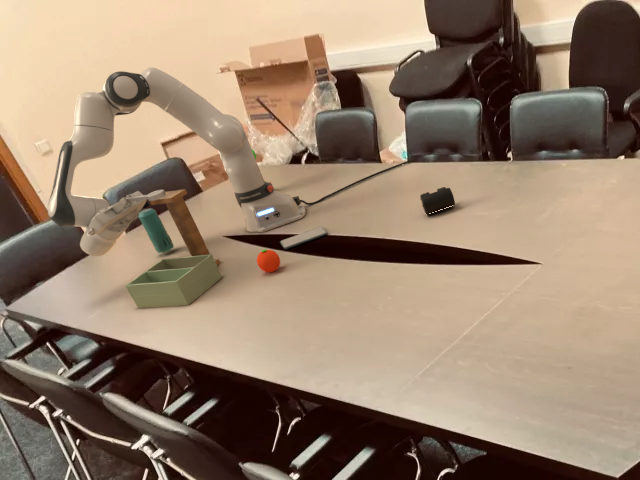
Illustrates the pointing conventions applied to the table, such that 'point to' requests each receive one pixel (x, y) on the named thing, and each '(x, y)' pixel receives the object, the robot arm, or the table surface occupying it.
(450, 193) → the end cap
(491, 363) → the table surface
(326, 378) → the table surface
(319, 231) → the smartphone
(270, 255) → the clementine
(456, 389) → the table surface
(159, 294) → the cutlery tray
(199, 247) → the oak stand
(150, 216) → the beverage bottle
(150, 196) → the spoon
